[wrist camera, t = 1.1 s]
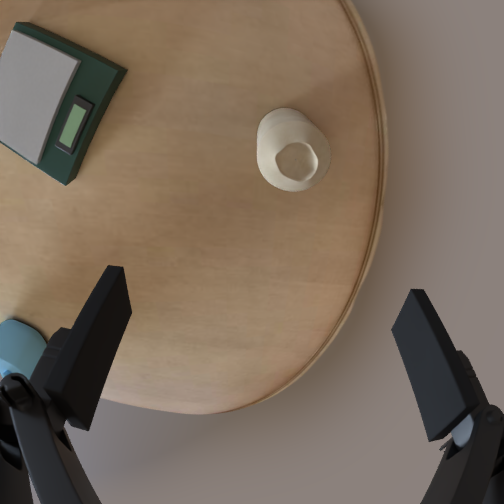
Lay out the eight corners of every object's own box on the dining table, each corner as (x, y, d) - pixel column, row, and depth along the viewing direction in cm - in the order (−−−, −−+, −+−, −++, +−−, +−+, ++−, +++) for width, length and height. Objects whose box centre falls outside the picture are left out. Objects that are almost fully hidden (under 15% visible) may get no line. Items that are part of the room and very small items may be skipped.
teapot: (-41, 338, 35) (32, 378, 38) (-14, 301, 44) (56, 332, 47) (-20, 376, 42) (48, 411, 44) (0, 341, 51) (66, 370, 53)
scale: (28, 22, 21) (11, 21, 18) (127, 70, 26) (114, 71, 23) (-9, 123, 27) (-25, 130, 24) (75, 178, 32) (62, 189, 29)
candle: (248, 147, 30) (244, 181, 22) (270, 98, 28) (277, 111, 19) (298, 168, 32) (313, 210, 23) (322, 121, 29) (349, 145, 20)
